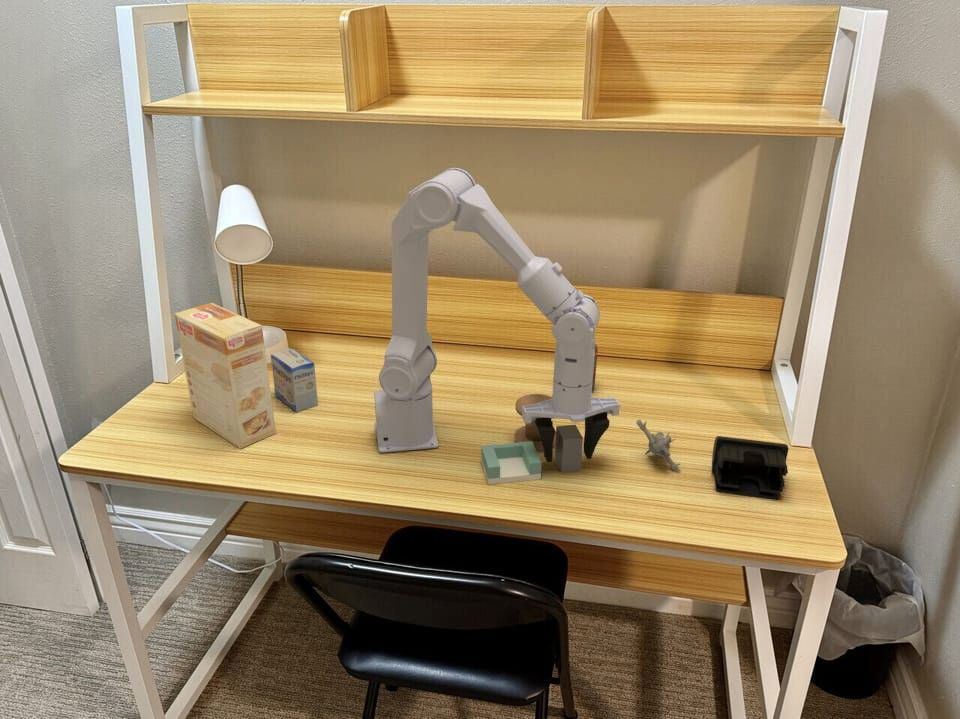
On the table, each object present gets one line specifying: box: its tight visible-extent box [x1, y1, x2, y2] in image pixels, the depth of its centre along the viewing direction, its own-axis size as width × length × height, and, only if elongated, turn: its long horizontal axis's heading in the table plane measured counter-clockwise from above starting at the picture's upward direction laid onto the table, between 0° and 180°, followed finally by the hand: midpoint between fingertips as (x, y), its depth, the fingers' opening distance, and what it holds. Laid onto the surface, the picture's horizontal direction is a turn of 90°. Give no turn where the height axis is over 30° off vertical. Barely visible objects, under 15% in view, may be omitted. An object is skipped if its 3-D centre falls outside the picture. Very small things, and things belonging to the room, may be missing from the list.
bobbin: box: [514, 393, 556, 452], centre depth 122 cm, size 7×7×7 cm
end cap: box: [711, 435, 790, 501], centre depth 111 cm, size 10×7×7 cm
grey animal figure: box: [636, 419, 682, 474], centre depth 118 cm, size 10×6×9 cm
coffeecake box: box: [174, 302, 277, 450], centre depth 123 cm, size 15×7×20 cm, turn 48°
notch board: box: [480, 441, 543, 485], centre depth 114 cm, size 8×6×3 cm
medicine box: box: [270, 347, 319, 413], centre depth 133 cm, size 8×4×9 cm, turn 42°
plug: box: [554, 424, 584, 474], centre depth 115 cm, size 3×4×6 cm
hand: (567, 457), depth 116 cm, fingers open, 6 cm apart
